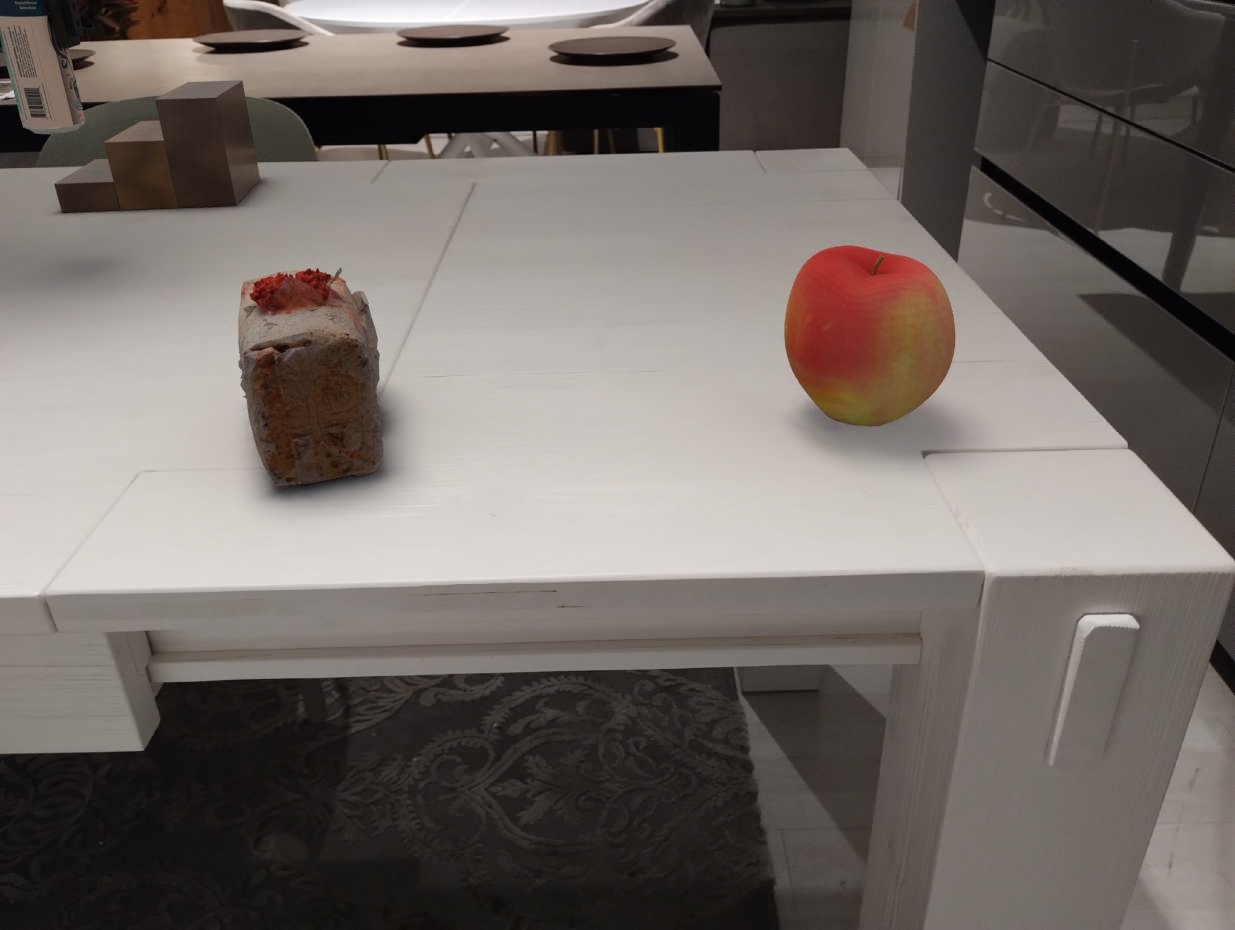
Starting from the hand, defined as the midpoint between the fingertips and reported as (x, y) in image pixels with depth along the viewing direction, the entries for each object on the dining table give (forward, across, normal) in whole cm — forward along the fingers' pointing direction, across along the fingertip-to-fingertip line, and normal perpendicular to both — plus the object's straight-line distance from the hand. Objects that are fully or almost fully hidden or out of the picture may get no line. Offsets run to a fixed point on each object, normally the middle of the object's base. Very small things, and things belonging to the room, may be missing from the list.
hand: (34, 43), depth 83 cm
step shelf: (+18, 0, -24) cm, 30 cm away
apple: (+17, -59, +40) cm, 73 cm away
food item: (+17, -27, +38) cm, 50 cm away
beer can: (+7, 0, 0) cm, 7 cm away
